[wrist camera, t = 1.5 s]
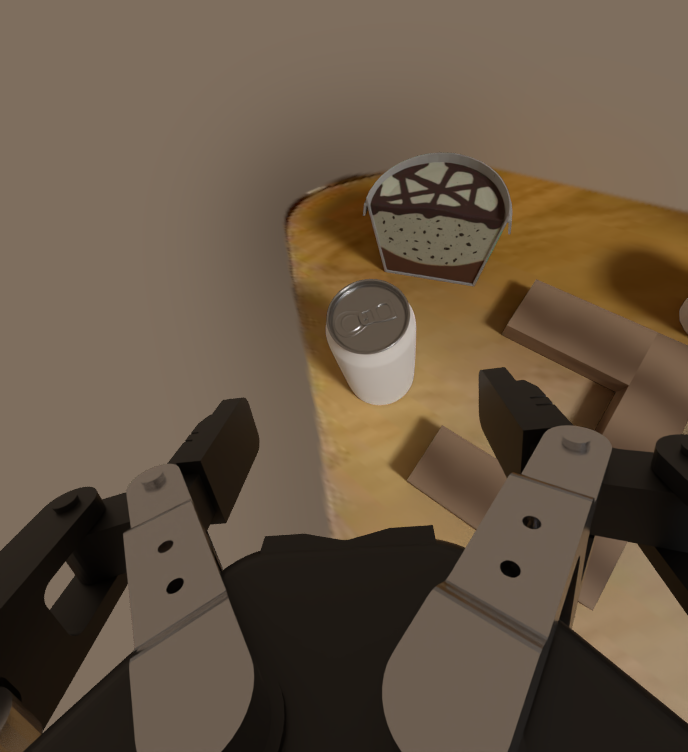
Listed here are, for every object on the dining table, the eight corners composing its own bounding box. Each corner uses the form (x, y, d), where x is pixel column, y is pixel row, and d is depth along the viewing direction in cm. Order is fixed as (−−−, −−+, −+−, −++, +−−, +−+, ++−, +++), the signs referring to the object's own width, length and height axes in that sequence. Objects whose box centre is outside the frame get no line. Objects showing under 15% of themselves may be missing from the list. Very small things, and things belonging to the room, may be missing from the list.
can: (339, 356, 37) (309, 291, 25) (400, 335, 36) (397, 260, 25) (358, 415, 34) (334, 373, 23) (424, 393, 34) (432, 340, 23)
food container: (500, 238, 38) (530, 153, 29) (489, 289, 36) (517, 215, 27) (386, 223, 41) (379, 142, 32) (371, 269, 39) (360, 197, 30)
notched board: (529, 291, 35) (536, 279, 34) (699, 367, 31) (718, 359, 29) (406, 481, 32) (406, 480, 30) (579, 603, 27) (592, 610, 25)
